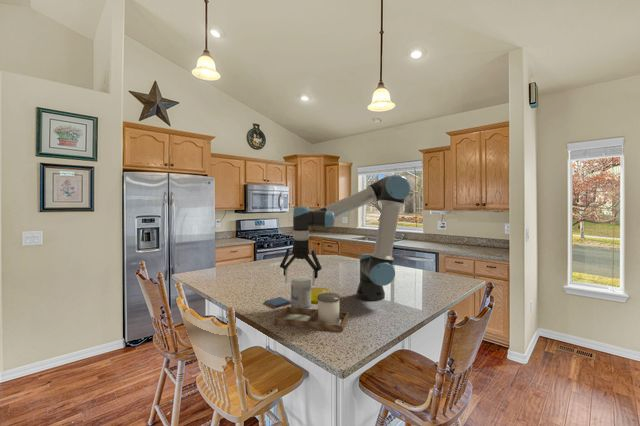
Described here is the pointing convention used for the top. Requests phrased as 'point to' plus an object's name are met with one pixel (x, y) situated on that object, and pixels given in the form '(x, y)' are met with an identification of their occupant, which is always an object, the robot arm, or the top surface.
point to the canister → (328, 308)
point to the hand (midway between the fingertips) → (300, 283)
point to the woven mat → (277, 302)
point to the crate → (309, 319)
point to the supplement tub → (301, 292)
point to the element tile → (316, 292)
